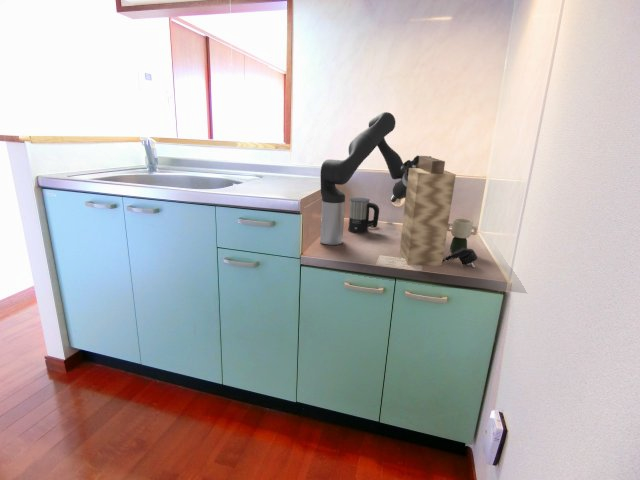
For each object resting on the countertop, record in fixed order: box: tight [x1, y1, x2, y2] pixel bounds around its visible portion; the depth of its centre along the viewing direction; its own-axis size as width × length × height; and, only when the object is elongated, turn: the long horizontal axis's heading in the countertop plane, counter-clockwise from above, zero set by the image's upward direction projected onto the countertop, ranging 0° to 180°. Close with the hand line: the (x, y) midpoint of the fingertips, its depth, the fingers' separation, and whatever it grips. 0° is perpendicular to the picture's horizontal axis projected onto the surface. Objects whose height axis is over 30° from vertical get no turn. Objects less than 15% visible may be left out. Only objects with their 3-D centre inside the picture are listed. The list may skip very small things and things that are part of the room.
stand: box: [399, 168, 457, 267], centre depth 124 cm, size 12×15×32 cm
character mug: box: [447, 217, 478, 253], centre depth 135 cm, size 11×7×13 cm, turn 64°
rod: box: [416, 155, 446, 174], centre depth 122 cm, size 4×23×4 cm, turn 178°
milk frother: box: [347, 197, 380, 234], centre depth 162 cm, size 14×16×15 cm
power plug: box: [442, 247, 478, 269], centre depth 123 cm, size 6×8×12 cm
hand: (424, 158), depth 129 cm, fingers closed on rod, 4 cm apart
